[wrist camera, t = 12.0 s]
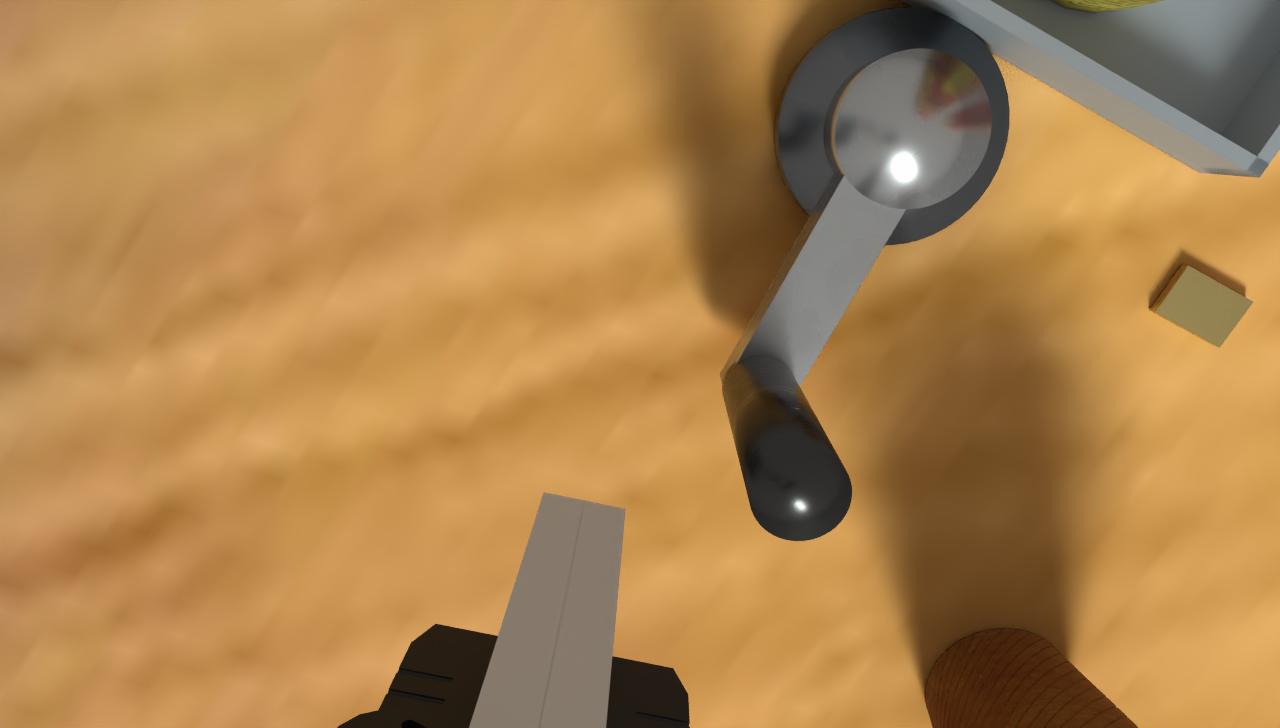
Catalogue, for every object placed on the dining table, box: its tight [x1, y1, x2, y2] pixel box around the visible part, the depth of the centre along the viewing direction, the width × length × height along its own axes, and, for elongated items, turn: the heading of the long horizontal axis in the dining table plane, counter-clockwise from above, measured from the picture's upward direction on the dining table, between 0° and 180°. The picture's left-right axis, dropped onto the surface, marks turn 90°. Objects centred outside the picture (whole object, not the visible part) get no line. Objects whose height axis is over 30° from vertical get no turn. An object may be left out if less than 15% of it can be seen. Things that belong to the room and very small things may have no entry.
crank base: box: [774, 8, 1009, 245], centre depth 29 cm, size 8×8×1 cm
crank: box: [720, 48, 992, 541], centre depth 24 cm, size 14×5×10 cm, turn 153°
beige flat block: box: [1150, 264, 1253, 347], centre depth 31 cm, size 3×2×1 cm, turn 63°
